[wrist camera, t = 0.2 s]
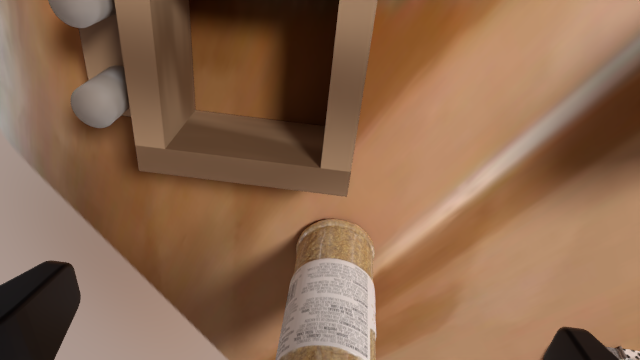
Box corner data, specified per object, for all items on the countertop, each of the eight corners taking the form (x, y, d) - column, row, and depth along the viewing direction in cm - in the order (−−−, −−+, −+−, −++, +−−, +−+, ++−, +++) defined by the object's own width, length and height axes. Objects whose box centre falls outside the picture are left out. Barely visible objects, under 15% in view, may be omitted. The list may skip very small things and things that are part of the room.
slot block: (349, 152, 22) (346, 196, 19) (114, 122, 23) (70, 162, 19) (381, -62, 17) (385, -52, 14) (77, -97, 18) (9, -96, 14)
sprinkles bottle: (352, 285, 27) (344, 559, 16) (284, 257, 27) (225, 524, 15) (389, 234, 25) (412, 512, 14) (316, 202, 24) (275, 468, 13)
